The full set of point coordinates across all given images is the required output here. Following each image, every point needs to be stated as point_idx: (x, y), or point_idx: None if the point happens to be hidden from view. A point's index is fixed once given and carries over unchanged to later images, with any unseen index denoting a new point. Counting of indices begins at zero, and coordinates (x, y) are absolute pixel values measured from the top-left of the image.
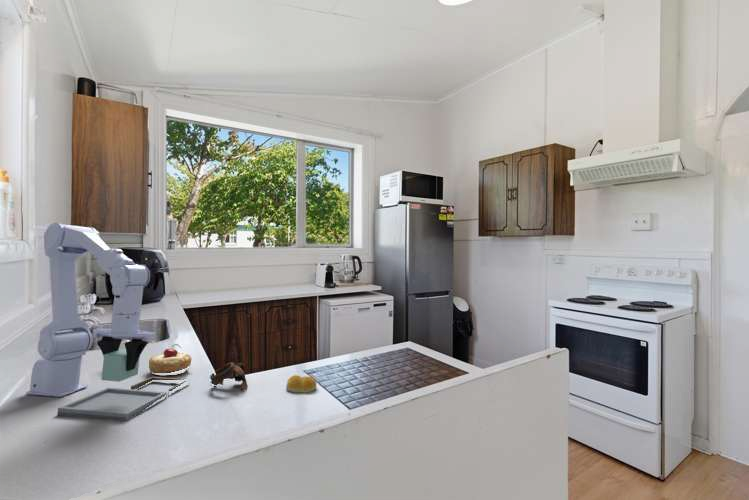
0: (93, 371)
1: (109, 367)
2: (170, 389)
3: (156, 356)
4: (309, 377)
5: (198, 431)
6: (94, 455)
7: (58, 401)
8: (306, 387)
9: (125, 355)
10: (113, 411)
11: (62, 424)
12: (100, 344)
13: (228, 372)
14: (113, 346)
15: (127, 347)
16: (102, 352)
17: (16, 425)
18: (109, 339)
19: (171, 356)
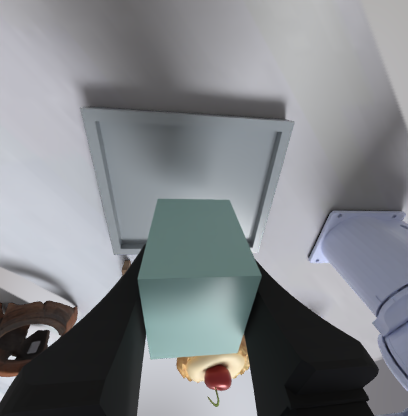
0: (334, 312)
1: (208, 228)
2: (122, 270)
3: (242, 363)
4: None
5: None
6: None
7: (324, 193)
8: None
9: (141, 294)
10: (133, 120)
11: (237, 60)
12: (332, 341)
13: None
14: (261, 351)
15: (97, 349)
16: (288, 295)
17: (347, 35)
18: (305, 407)
19: (209, 369)
